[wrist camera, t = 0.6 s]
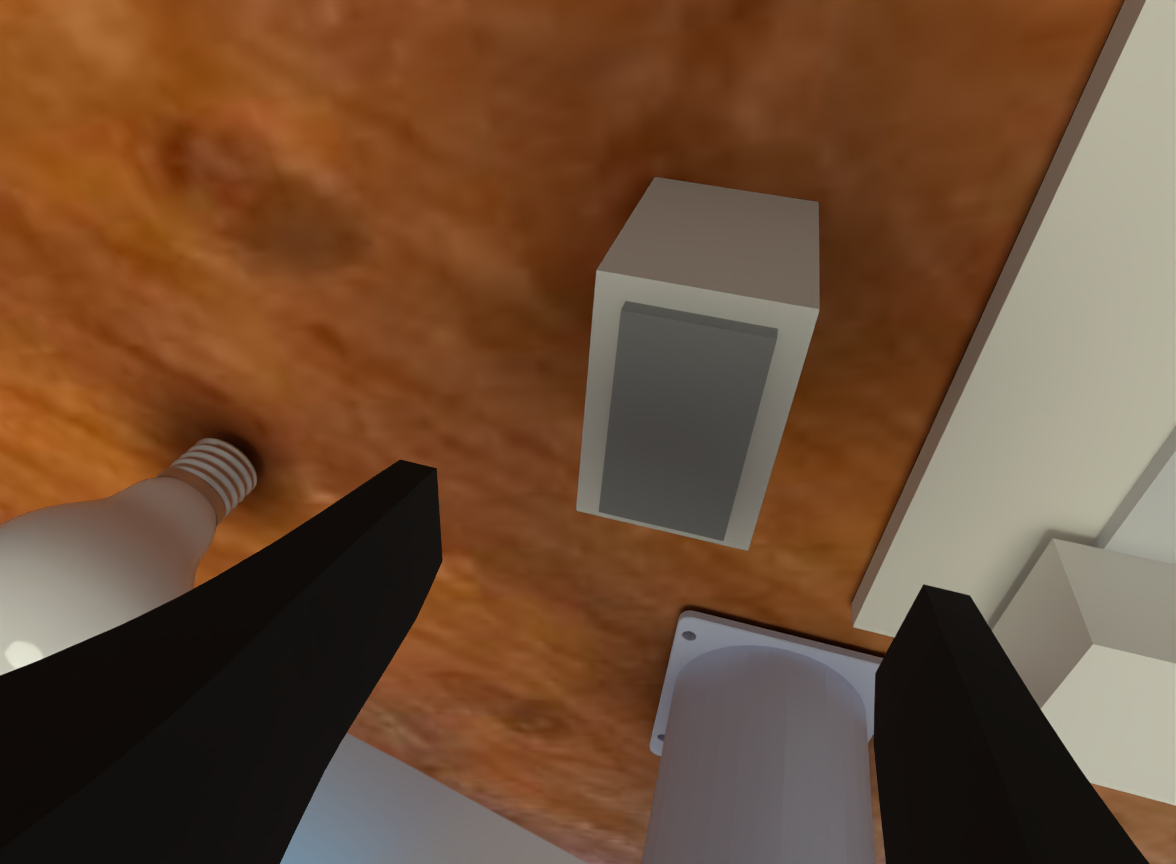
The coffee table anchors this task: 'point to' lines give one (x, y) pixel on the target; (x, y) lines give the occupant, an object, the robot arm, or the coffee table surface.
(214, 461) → the lightbulb
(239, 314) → the coffee table surface
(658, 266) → the block
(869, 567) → the board
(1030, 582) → the mounted modules
